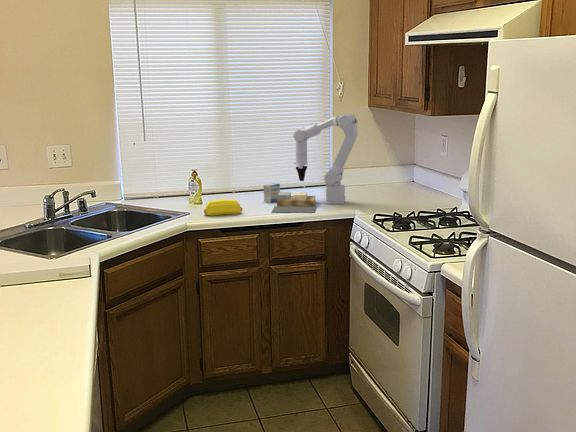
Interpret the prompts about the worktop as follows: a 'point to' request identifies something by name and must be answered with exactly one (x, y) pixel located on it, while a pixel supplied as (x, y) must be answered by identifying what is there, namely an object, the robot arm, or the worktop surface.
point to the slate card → (284, 195)
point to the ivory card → (300, 195)
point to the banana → (222, 207)
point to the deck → (297, 202)
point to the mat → (294, 209)
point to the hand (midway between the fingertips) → (301, 180)
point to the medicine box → (271, 192)
